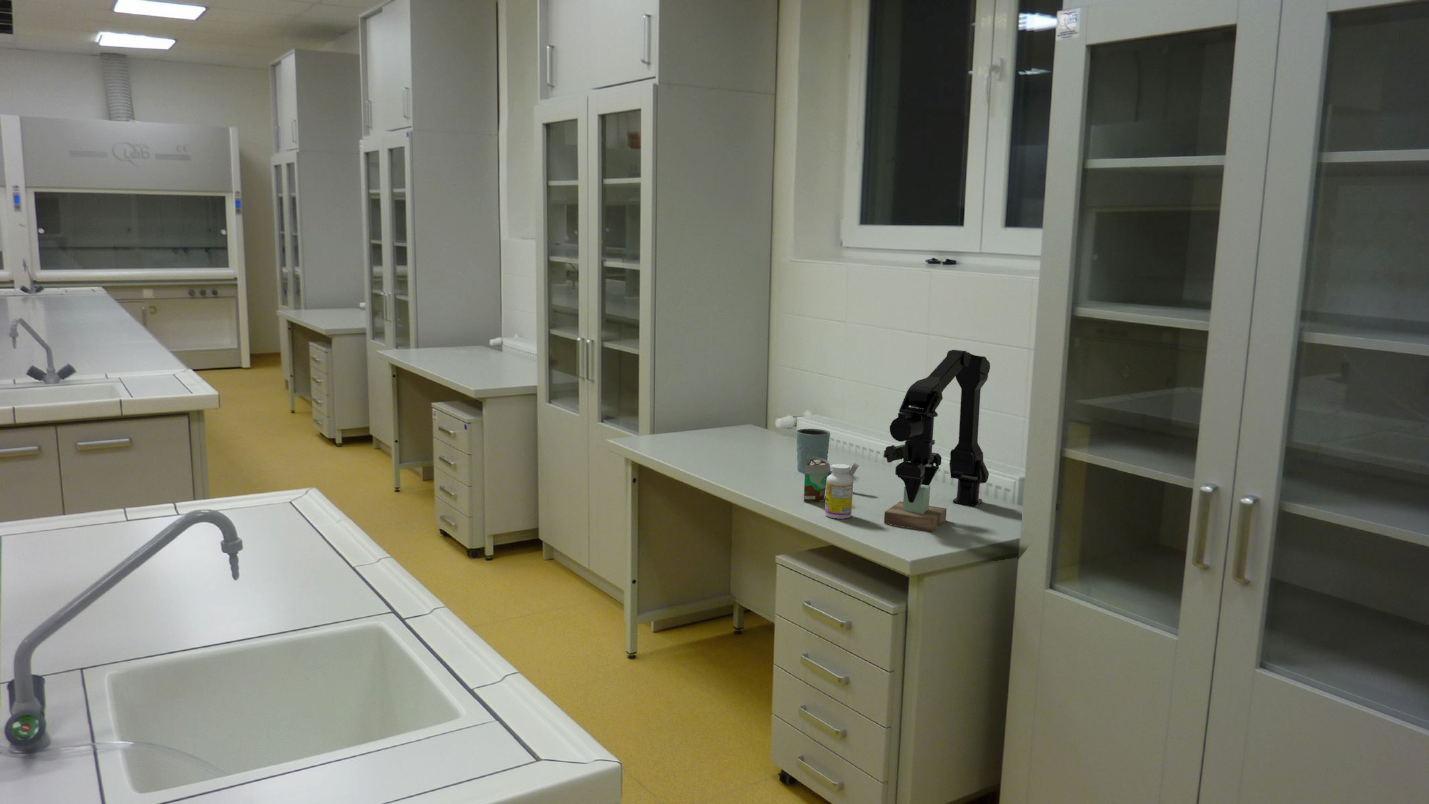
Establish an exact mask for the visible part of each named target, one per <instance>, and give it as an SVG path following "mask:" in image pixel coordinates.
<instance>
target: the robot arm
mask: <svg viewBox="0 0 1429 804" xmlns="http://www.w3.org/2000/svg"><path fill="white" fill-rule="evenodd" d="M990 369H991V363H990V361H989V360H988V359H987V357H986V356H983V355H975V354H972V353H970V352H969V351H967V350H959V349H951V350H948V351H947V352H946V356H945V357H944V358H943V360H942V361H941V362H940V363H939V364H938V365H937V366H936V367H935V368H934V369H933V370H932V372H931V373H930V374H929V375H928V376H927V377H924V378H922V379H918V380H917V381H915V382H914V383H912V384H911V385H910V386H909V387H908V388H907V391H906V394H905V396H904V397H903V400H902V403H901V404H900V407H899V409H898V413H897V417H896V418H894V419H893V420H892V422H891V423H890V425H889V433H890V435H891V437H892V438H893V439H894V440H895V441H896V442H901V443H902V442H904V444H900V445H894V444H892V445H887V446H886V447H885V450H884V451H883V453H884V454H883V458H885V459H886V462H887V463H893V462H894V461H895V462H896V461H900V460H902V461H901V462H900V463H898V464H897V465H896V466H895V471H894V472H895V473H894V474H895V476H897V477H898V478H899V479H901V481H903V484H904V487H906V492H907V496H908V501H909V502H911V503H913V502H914V500H915V498H916V496H917V493H918V491H919V488H920V486H921V485H928V486H931V482H932V481H933V479H934V477H935V475H936V473H937V471H938V470H939V468H940V466H941V465H942V456H941V455H940V454H939V453H938V452H933V446H934V445H935V444H936V440H934V426H935V425H934V424H935V423H934V422H935V418H937V417H938V416H939V414H938V412H937V411H936V410H937V409H938V407H939V406H940V403H941V402H942V400H943V399H944V397H943V392H944V390H945V389H946V388H947V387H948V385H949V384H950V383H951V382H952V381H953V380H954V379H955V380H956V381H957V383H958V385H959V387H960V389H961V392H960V393H961V394H960V408H959V409H960V410H959V426H958V443H957V444H956V445H955V447H954V448H953V449H951V450H950V459H949V473H950V478H951V479H956V480H957V488H956V489H957V490H956V491H957V492H956V497H955V498H954V499H952V503H955V504H961V505H968V506H975V507H977V506H978V505H980V504H981V503H982V502H983V499H982V498H980V487H981V484H987V482H988V481H989V480H988V479H989V476H990V472H989V470H988V468H987V465H986V464H985V462H984V452H983V450H982V449H981V447H980V445H979V443H978V439H979V425H980V423H979V421H980V405H981V404H980V403H981V390H982V388H983V387H984V385H985V383H986V382H987V381H988V378H989V373H990ZM980 502H981V503H980Z"/></svg>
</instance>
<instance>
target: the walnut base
mask: <svg viewBox="0 0 1429 804" xmlns="http://www.w3.org/2000/svg"><path fill="white" fill-rule="evenodd" d="M947 510H948V509H947V508H944V507H939V506H932V505H929V510H927V511H926V512H925V513H923V514H920V513H914V512H908V511H903V501H901V500H899V501H898V502H897V503H895V504H893V506H891V507H889V508H888V509H886V510H885V511H884V517H883V524H884V523H885V524H884V525H889V524H892V525H891V526H895V525H896V526H895V527H901V526H904V527H903V528H907V527H908V528H907V529H913V528H915V530H918V531H925V532H926V531H927V532H933V531H935V530H936V529H937V528H939V526H941V525H942V524H943V523H945V521H947Z"/></svg>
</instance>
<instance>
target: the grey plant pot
mask: <svg viewBox="0 0 1429 804" xmlns="http://www.w3.org/2000/svg"><path fill="white" fill-rule="evenodd" d="M795 434H796V435H795V436H796V437H795V438H796V453H797V454H796V462H797V465H796V466H797V467H796V469H797V471H798V472H799V473H801V474H805V465H806V466H807V465H808V462H809V461H810V457H817V458H822V459H825V460H827V461H828V457H829V456H828V454H829V447H830V438H831V432H830V431H829V430H826V429H820V428H819V429H818V428H799V429H796V431H795Z"/></svg>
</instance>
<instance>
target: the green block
mask: <svg viewBox="0 0 1429 804" xmlns="http://www.w3.org/2000/svg"><path fill="white" fill-rule="evenodd" d="M930 496H931V485H929V486H928V485H921V486H920V488H919V491H918V493H917V496H916V498H915V500H914V502H913V503H911V502H909V501H908V496H907V492H906V487H905V486H904V487H903V499H902V500H903V501H902V502H903V511H908V512H914V513H920V514H923V513H925V512H926V511H927V510H929V506H930Z"/></svg>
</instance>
